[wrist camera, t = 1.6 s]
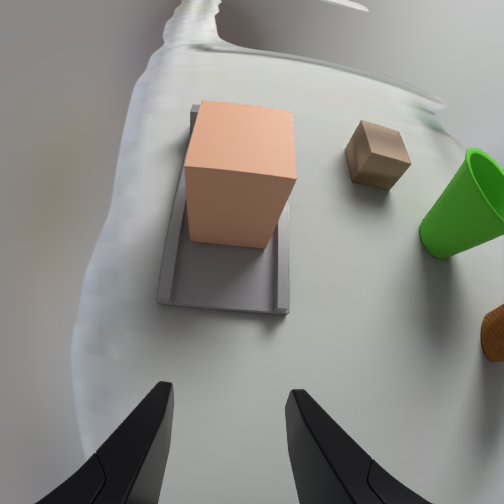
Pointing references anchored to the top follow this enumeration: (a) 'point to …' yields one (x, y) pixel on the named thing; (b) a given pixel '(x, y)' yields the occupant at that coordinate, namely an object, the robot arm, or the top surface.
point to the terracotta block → (238, 173)
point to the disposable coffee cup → (493, 334)
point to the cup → (466, 208)
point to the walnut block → (376, 156)
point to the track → (223, 265)
